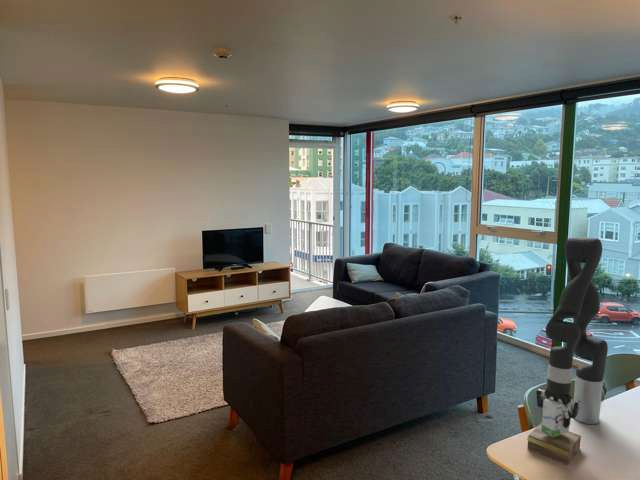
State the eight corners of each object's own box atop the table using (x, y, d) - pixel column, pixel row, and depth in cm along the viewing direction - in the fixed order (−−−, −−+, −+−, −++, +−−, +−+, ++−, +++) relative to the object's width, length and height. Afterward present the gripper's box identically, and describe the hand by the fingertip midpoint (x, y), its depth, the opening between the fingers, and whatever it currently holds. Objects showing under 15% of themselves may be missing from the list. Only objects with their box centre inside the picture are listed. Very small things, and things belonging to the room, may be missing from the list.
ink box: (552, 438, 159) (555, 405, 158) (540, 431, 164) (542, 399, 162) (569, 432, 163) (572, 400, 162) (556, 425, 168) (559, 394, 166)
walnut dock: (541, 434, 174) (542, 421, 173) (579, 448, 164) (580, 435, 164) (526, 449, 164) (527, 435, 163) (566, 465, 155) (567, 451, 154)
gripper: (585, 380, 158) (581, 427, 161) (541, 368, 169) (538, 412, 171) (578, 387, 153) (574, 435, 156) (533, 374, 163) (530, 419, 166)
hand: (555, 423), depth 163 cm, fingers closed on ink box, 6 cm apart
